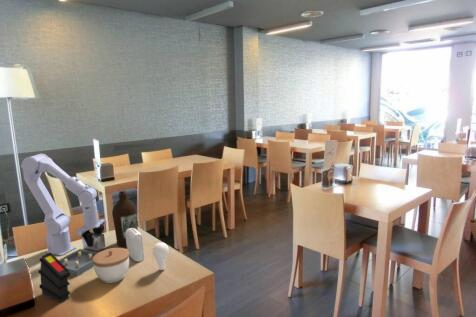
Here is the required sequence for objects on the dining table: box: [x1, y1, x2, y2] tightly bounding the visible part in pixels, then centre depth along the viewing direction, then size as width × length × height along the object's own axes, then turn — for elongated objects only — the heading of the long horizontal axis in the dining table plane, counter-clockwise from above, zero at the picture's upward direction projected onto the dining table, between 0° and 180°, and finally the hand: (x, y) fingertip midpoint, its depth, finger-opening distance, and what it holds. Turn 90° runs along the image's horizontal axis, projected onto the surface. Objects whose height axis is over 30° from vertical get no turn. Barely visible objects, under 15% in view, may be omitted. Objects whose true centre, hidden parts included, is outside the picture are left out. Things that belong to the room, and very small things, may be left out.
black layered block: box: [38, 253, 72, 303], centre depth 112 cm, size 4×13×15 cm, turn 60°
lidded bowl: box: [92, 247, 130, 284], centre depth 122 cm, size 13×13×11 cm
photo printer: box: [125, 228, 145, 262], centre depth 138 cm, size 10×4×12 cm, turn 39°
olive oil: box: [111, 189, 139, 248], centre depth 151 cm, size 11×11×25 cm
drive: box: [81, 231, 106, 252], centre depth 147 cm, size 9×4×6 cm, turn 67°
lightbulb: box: [152, 242, 170, 271], centre depth 127 cm, size 6×6×11 cm
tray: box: [58, 248, 98, 277], centre depth 134 cm, size 14×14×4 cm
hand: (94, 244), depth 147 cm, fingers closed on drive, 4 cm apart
